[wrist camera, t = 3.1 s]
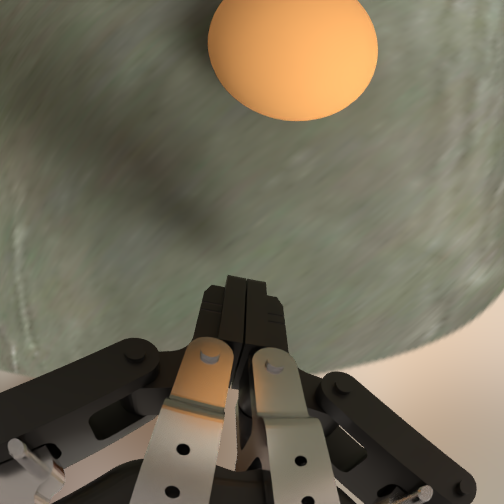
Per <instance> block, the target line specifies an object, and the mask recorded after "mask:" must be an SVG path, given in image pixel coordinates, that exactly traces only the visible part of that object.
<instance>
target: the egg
mask: <svg viewBox="0 0 504 504" xmlns="http://www.w3.org/2000/svg"><path fill="white" fill-rule="evenodd" d="M208 52H209V57H210V61H211V64H212V67H213V69H214V71H215V74H216V76H217V77H218V79H219V81H220V82H221V84H222V85H223V86H224V87H225V89H226V90H227V91H228V92H229V93H230V94H231V95H232V96H233V97H234V98H235V99H236V100H238V101H239V102H240V103H242V104H243V105H244V106H246V107H248V108H250V109H251V110H253V111H255V112H258V113H260V114H262V115H265V116H268V117H272V118H275V119H281V120H287V121H307V120H313V119H319V118H323V117H326V116H329V115H332V114H334V113H336V112H339V111H340V110H342V109H344V108H345V107H347V106H348V105H350V104H351V103H352V102H353V101H355V100H356V99H357V98H358V97H359V96H360V95H361V94H362V93H363V91H364V90H365V89H366V87H367V86H368V84H369V82H370V80H371V78H372V76H373V74H374V71H375V67H376V64H377V57H378V44H377V37H376V33H375V30H374V26H373V24H372V22H371V20H370V17H369V16H368V14H367V12H366V11H365V9H364V8H363V7H362V5H361V4H360V3H359V2H358V1H357V0H223V1H222V3H221V4H220V5H219V7H218V8H217V10H216V12H215V14H214V16H213V18H212V21H211V24H210V28H209V33H208Z"/></svg>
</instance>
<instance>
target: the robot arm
mask: <svg viewBox="0 0 504 504" xmlns="http://www.w3.org/2000/svg"><path fill="white" fill-rule="evenodd" d="M231 382H232V387H231V388H232V389H238V390H239V397H238V401H237V404H236V407H235V412H236V413H235V414H236V435H237V436H236V438H237V459H236V464H235V471H231V470H228V469H225V468H223V467H220V466H217V465H216V461H217V455H218V450H219V444H220V439H221V433H222V428H223V422H224V415H225V412H224V408H225V402H226V397H227V391H228V388H230V385H231ZM157 415H159V416H158V419H157V422H156V425H155V428H154V430H153V433H152V436H151V440H150V442H149V445H148V448H147V451H146V454H145V457H144V459H138V460H133V461H130V462H126V463H124V464H121V465H119V466H117V467H115V468H113V469H112V470H110V471H108V472H107V473H105V474H104V475H102V476H100V477H99V478H97V479H95V480H94V481H92V482H90V483H89V484H87V485H85V486H83V487H82V488H80V489H78V490H76V491H74V492H73V493H71V494H69V495H67V496H65V497H63V498H62V499H60V500H58V501H56V502H54V503H52V504H356V503H355V502H354V501H353V500H352V499H351V498H350V497H349V496H348V495H347V494H346V493H344V492H343V491H342V490H341V489H340V488H338V487H337V486H336V483H335V479H334V477H335V478H336V479H337V480H338V481H339V482H340V483H341V484H343V485H344V486H345V487H346V488H347V489H348V490H349V491H350V492H352V493H353V494H354V495H355V496H356V497H357V498H359V499H360V500H361V501H362V502H363V503H364V504H470V503H471V502H472V501H473V499H474V498H475V495H476V482H475V480H474V478H473V476H472V475H471V474H469V473H468V472H467V471H466V470H465V469H463V468H462V467H460V466H459V465H458V464H457V463H456V462H454V461H453V460H452V459H451V458H449V457H448V456H447V455H446V454H444V453H443V452H442V451H441V450H439V449H438V448H437V447H436V446H435V445H433V444H432V443H431V442H430V441H428V440H427V439H426V438H425V437H423V436H422V435H421V434H420V433H418V432H417V431H416V430H415V429H414V428H413V427H411V426H410V425H409V424H407V423H406V422H405V421H404V420H403V419H402V418H401V417H399V416H398V415H397V414H396V413H395V412H393V411H392V410H391V409H390V408H389V407H387V406H386V405H385V404H384V403H383V402H381V401H380V400H379V399H378V398H377V397H375V396H374V395H373V394H372V393H371V392H370V391H369V390H367V389H366V388H365V387H364V386H363V385H362V384H360V383H359V382H358V381H357V380H356V379H355V378H353V377H352V376H350V375H349V374H346V373H343V372H330V373H328V374H326V375H325V376H324V377H323V379H322V378H319V377H317V376H314V375H311V374H308V373H306V372H304V371H302V370H300V369H299V368H298V367H297V364H296V361H295V360H294V358H293V357H292V356H291V355H290V354H289V353H288V344H287V336H286V327H285V319H284V311H283V306H282V304H281V303H280V301H279V300H278V298H277V297H273V296H267V291H266V282H262V281H256V280H251V279H247V281H246V278H241V277H236V276H231V275H228V276H227V280H226V285H225V287H220V286H215V285H211V286H210V287H209V288H208V289H207V290H206V291H205V292H204V295H203V299H202V303H201V307H200V311H199V315H198V320H197V324H196V328H195V332H194V336H193V339H192V341H191V342H190V343H189V345H187V346H186V347H184V348H183V349H180V350H176V351H165V352H158V350H157V348H156V347H155V346H154V345H153V344H152V343H150V342H149V341H147V340H144V339H140V338H128V339H124V340H122V341H120V342H117V343H115V344H113V345H111V346H108V347H106V348H104V349H102V350H99V351H97V352H95V353H93V354H90V355H88V356H86V357H84V358H81V359H79V360H77V361H75V362H72V363H70V364H68V365H65V366H63V367H61V368H58V369H56V370H54V371H51V372H49V373H47V374H44V375H42V376H40V377H37V378H35V379H33V380H30V381H28V382H26V383H23V384H21V385H18V386H16V387H13V388H11V389H9V390H6V391H4V392H1V393H0V504H49V503H50V500H51V498H52V497H53V496H54V494H56V493H57V492H59V491H60V490H61V489H62V487H63V486H64V483H65V472H64V469H65V468H67V467H69V466H70V465H73V464H75V463H77V462H78V461H80V460H82V459H84V458H86V457H88V456H90V455H92V454H94V453H96V452H98V451H99V450H101V449H103V448H105V447H107V446H108V445H110V444H112V443H114V442H115V441H117V440H119V439H120V438H123V437H124V436H126V435H127V434H129V433H131V432H133V431H134V430H136V429H138V428H139V427H141V426H143V425H144V424H146V423H148V422H149V421H151V420H153V419H154V418H155V417H156V416H157ZM339 425H340V426H341V427H342V428H343V429H344V430H345V431H346V432H348V433H349V434H350V435H351V436H352V437H353V438H354V439H355V440H356V441H357V442H359V443H360V444H361V445H362V446H363V447H364V448H363V447H361V446H360V445H359V444H358V443H357V442H356V441H355V440H354V439H352V438H351V437H350V436H349V435H348V434H347V433H346V432H345V431H344V430H342V429H341V428H340V427H339Z"/></svg>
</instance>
